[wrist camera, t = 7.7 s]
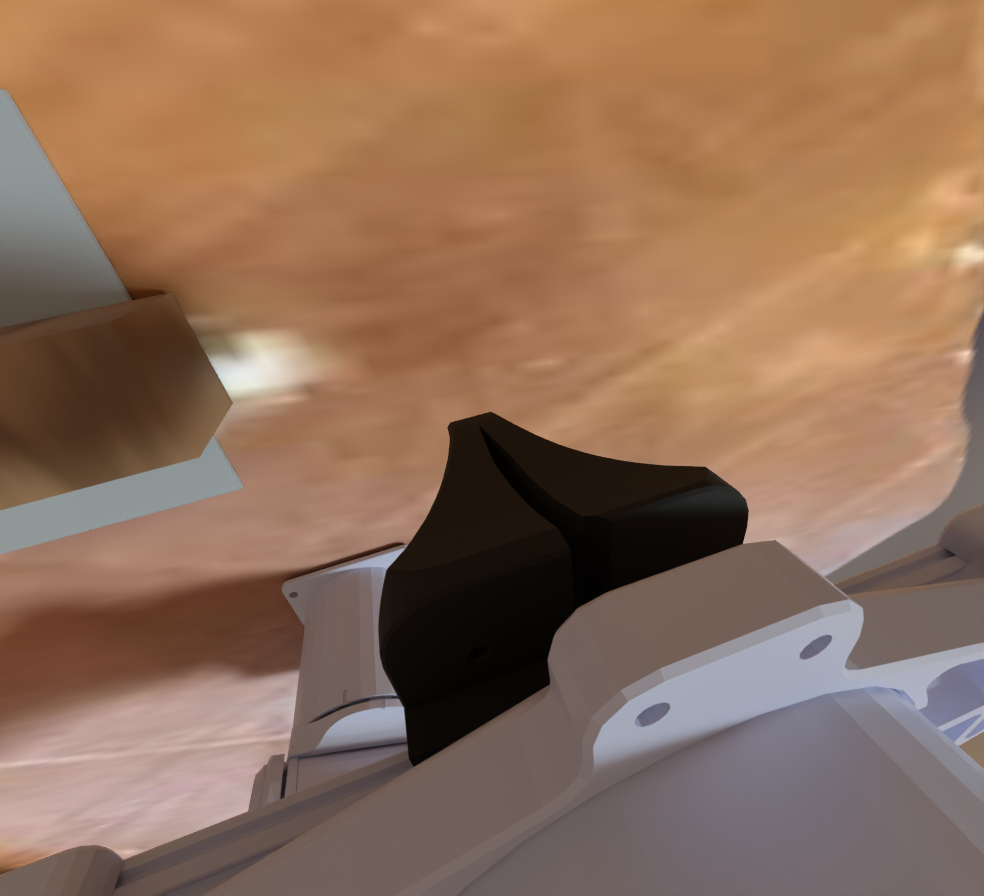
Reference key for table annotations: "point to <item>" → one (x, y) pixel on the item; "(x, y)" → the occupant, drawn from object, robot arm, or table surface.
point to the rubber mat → (62, 290)
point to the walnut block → (102, 398)
